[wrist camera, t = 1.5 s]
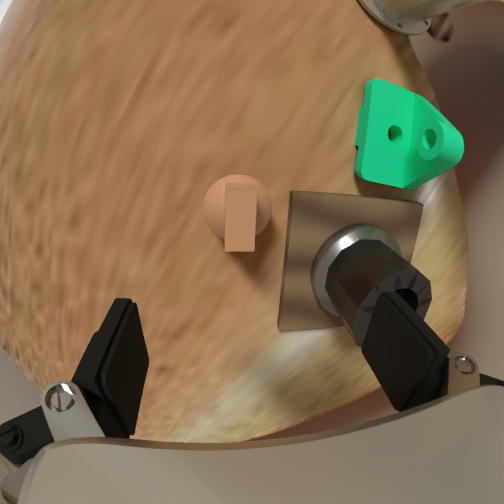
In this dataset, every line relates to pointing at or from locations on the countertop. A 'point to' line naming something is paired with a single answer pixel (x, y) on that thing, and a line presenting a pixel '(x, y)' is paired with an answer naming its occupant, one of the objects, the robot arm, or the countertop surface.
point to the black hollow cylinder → (364, 276)
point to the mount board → (318, 231)
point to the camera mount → (403, 138)
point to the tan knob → (237, 210)
